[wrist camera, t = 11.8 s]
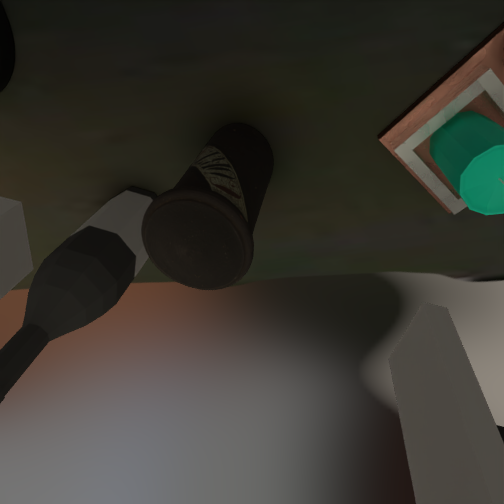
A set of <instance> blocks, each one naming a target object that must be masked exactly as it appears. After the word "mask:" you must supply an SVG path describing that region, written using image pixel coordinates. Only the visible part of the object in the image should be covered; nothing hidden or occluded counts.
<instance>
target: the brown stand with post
mask: <svg viewBox="0 0 504 504" xmlns="http://www.w3.org/2000/svg"><path fill="white" fill-rule="evenodd" d="M466 111H474V112H477V113H479V114H482V115H484V116H487V117H488V118H490V119H491V120H493V121H494V122H496V123H497V124H499V125H500V126H502V127H503V128H504V22H503V23H502V24H501V25H500V26H499V27H498V28H497V29H496V30H494V31H493V32H492V33H491V34H490V35H489V36H488V37H487V38H486V39H484V40H483V41H482V42H481V43H480V44H479V45H478V46H477V47H476V48H474V49H473V50H472V51H471V52H470V53H469V54H468V55H467V56H465V57H464V58H463V59H462V60H461V61H460V62H459V63H458V64H457V65H455V66H454V67H453V68H452V69H451V70H450V71H449V72H448V73H447V74H445V75H444V76H443V77H442V78H441V79H440V80H439V81H438V82H437V83H435V84H434V85H433V86H432V87H431V88H430V89H429V90H428V91H427V92H425V93H424V94H423V95H422V96H421V97H420V98H419V99H418V100H417V101H415V102H414V103H413V104H412V105H411V106H410V107H409V108H408V109H407V110H405V111H404V112H403V113H402V114H401V115H400V116H399V117H398V118H397V119H395V120H394V121H393V122H392V123H391V124H390V125H389V126H388V127H387V128H385V129H384V130H383V131H382V132H381V133H380V134H379V135H378V139H379V140H380V141H381V142H382V144H383V145H384V146H385V147H386V148H387V149H388V150H389V151H390V152H391V153H392V154H393V155H394V156H395V157H396V158H397V159H398V160H399V161H400V162H401V163H402V165H403V166H404V167H405V168H406V169H407V170H408V171H409V172H410V173H411V174H412V175H413V176H414V177H415V178H416V179H417V180H418V181H419V182H420V183H421V184H422V186H423V187H424V188H425V189H426V190H427V191H428V192H429V193H430V194H431V195H432V196H433V197H434V198H435V199H436V200H437V201H438V202H439V203H440V204H441V205H442V206H443V208H444V209H445V210H446V211H447V212H448V213H449V214H450V213H451V212H453V214H454V215H455V214H457V213H458V212H459V211H461V210H462V209H464V208H465V207H467V205H466V204H465V202H464V201H463V199H462V198H461V197H460V195H459V194H458V193H457V191H456V190H455V189H454V187H453V186H452V185H451V183H450V182H449V180H448V179H447V178H446V176H445V175H444V174H443V172H442V171H441V170H440V168H439V167H438V165H437V164H436V163H435V161H434V160H433V158H432V157H431V155H430V154H429V148H430V137H431V136H432V134H433V132H435V131H436V130H437V129H438V128H440V127H441V126H442V125H443V124H444V123H446V122H447V121H448V120H449V119H450V118H452V117H453V116H454V115H455V114H456V113H460V112H466Z"/></svg>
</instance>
